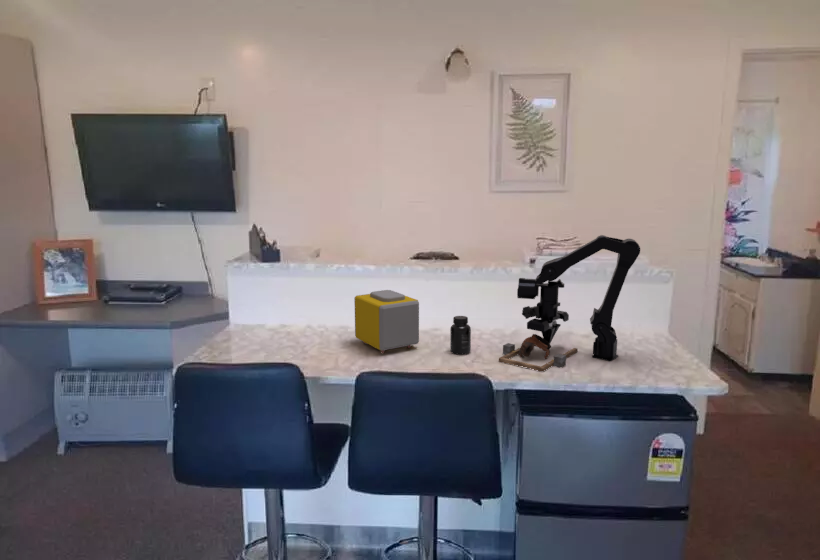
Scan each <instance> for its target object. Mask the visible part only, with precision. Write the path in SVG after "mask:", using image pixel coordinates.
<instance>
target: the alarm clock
mask: <svg viewBox="0 0 820 560" xmlns="http://www.w3.org/2000/svg"><path fill="white" fill-rule="evenodd" d="M353 301H354V336H355V338H356V339H358V340H359V341H362V342H363V344H364V343H366V344H367V345H369V346H371V347H373V348H375V349H377V350H379V351H380V353H381V352H382V353H381V354H384V353H385V351H386V350H387V351H388V350H391V349H396V348H401V347H407V348H408V349H410V348H411V346H414V345H417V344H419V342H420V302H419V300H418V299H416V298H413V297H410V296H408V295H405V294H403V293H400V292H397V291H394V290H391V289H383V290H382V289H381V290H374V291H372V292H371V291H370V292H369V293H366V294H359V295H358V294H357V295H355V296H354V300H353Z"/></svg>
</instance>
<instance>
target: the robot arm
mask: <svg viewBox="0 0 820 560" xmlns="http://www.w3.org/2000/svg"><path fill="white" fill-rule="evenodd" d="M602 250H606V251H609V252H611V253H615V254H617V257H616V259H617V260H616V265H615V269H614V271H613V273H612V277H611V279H610V282H609V283H608V286H607V289H606V292H605V295H604V296H603V297H604V298H603V300H602V303H601V305H600V307H599V308H598V309H597V308H595V307H593V313H592V315H591V317H590V318H589V322H590V325H591V326H590V327H591V331H592V332H593V334H594V335H595V336H596V337H595V338H594V341H593V344H592V346H593V347H592V355H591V357H592V358H594V359H598V360H605V361H607V362H608V361H609V362H612V361H614V360H615V359H616V358H619V354H617V350H618V336H617V332H616V330H615V328H614V327H613V326H612V321H613V315H614V314H613V313H614V310H615V307H616V304H617V302H618V299H619V296H620V294H621V291H622V288H623V285H624V283H625V280H626V278H627V275H628V272H629V270H630V269H631V267H633V265H634V264H635V262H636V260H637V259H638V257H639V255H640V254H641V246H640V245H639V243H638V242H637V240H635V239H633V238H625V239H621V238H617V237H609V236H606V235H603V234H600V235H598V236H597V237H596V238H594V239H591V241H589V242H587V243H585V244H584V245H582V246H579V247H578V248H576V249H575V250H573V251H570V253H567V254H566V255H563V256H560V257H556V258H553V259H550V260H548V261H545V262H544V263H543V265H542V267H541V270H540V272H539V274H538V275H536V277H535V278H525V277H519V278H518V284H517V290H516V291H517V294H516V295H517V299H521V300H522V299H523V300H525V299H527V300H535V299H536V298H537V297H540V300H539V302H537V304H536V305H534V306H530V305H527V306H524V307H522V312H521V315H522V316H523V317H524V318H525V320H526V319H529V318H532V319H530V320H529V321H527V322H526V329H527V330H530V331H531V330H532V331H536V332H541V334H542V338H544V339H545V340H546V341H547V342H549V344H550V345H551V342H552V341H553V339H554V337H555V335H556V333H557V332H558V330H559V329H560V327H561V323H558V322H557V320H562V321H563V322H564V323H565V322H567V321H569V319H570V317H569V313H568V312H567V311H563V310H559V307H560V306H561V302H559V289H560V288H561V289H562V288H565V283H564V282H562V280H561V279H560V276H562V275H563V274H564V273H565V272H566V271H567V270H569V268H571V267H572V266H574V265H576V264H578V263H580V262H582V261H583V260H586V259H587V258H589V257H590V256H592V255H594V254H597V253H598V252H599V251H602ZM558 278H559V279H558ZM557 279H558V280H557ZM539 288H540V289H539ZM539 290H540V295H539ZM533 317H534V318H533Z"/></svg>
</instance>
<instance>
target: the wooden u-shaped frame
mask: <svg viewBox="0 0 820 560" xmlns="http://www.w3.org/2000/svg"><path fill="white" fill-rule="evenodd" d="M515 345H516V344H514V343H509V342H507V343H504V344H503V345H502V356H500V357H498V362H499V363H502V362H504V364H506V363H509V364H508V365H511V364H514V365H513V366H515V365H518V366H517V367H519V366H523V367H527V368H531V369H530V370H532V369H534V370H533V371H536V370H538V371H537V372H540V371H544V370H545V371H547V370H549V369H550V368H549V367H551V366H552V367H555V366H557V367H556V368H560V367H562V368H563V367H566V365H567V358H570V357H571V356H573V355H575V354H576V353H578V348H577V347H573V348H572V349H570V350H568V351H566V352H564V353H562V354H561V353H557V354H555V355H554V356H553V359H551V360H550V361H547V362H546V363H545V364H543V365H537V364H532V363H528V362H524V361H523V362H522V361H519V360H515V359H512V358H514V357H516V356H517V354H518V353H519V351H520V347H518V348H516V346H515ZM534 347H536V344H534ZM503 354H504V355H503ZM515 355H516V356H515ZM518 355H519V354H518ZM513 356H514V357H513ZM511 357H512V358H511ZM509 358H510V359H509ZM523 367H522V368H523ZM552 367H551V368H552ZM527 368H526V369H527ZM548 368H549V369H548ZM546 369H547V370H546ZM545 371H544V372H545Z"/></svg>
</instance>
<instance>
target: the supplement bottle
mask: <svg viewBox="0 0 820 560" xmlns="http://www.w3.org/2000/svg"><path fill="white" fill-rule="evenodd" d="M452 319H453V320H452V325H451V326H450V329H449V330H450V331H449V332H450V333H449V334H450V335H449V336H450V337H449V338H450V343H449V345H450V348H449V349H450V352H451V353H452V354H454V355H462V356H463V355H468V354H470V353H471V351H472V350H471V349H472V347H471V346H472V344H471V343H472V342H471V340H472V338H471V337H472V327H471V325H469V324H468V323H469V319H468V316H466V315H455V316H453V318H452Z"/></svg>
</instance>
